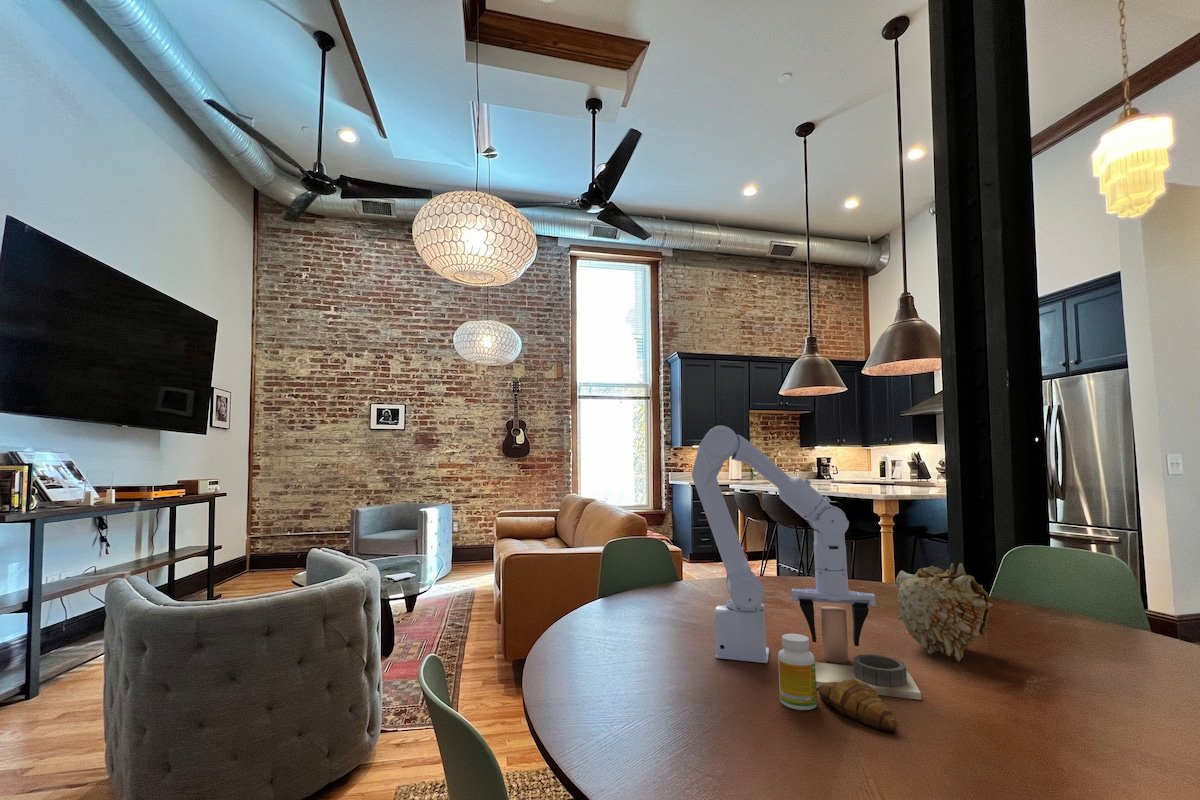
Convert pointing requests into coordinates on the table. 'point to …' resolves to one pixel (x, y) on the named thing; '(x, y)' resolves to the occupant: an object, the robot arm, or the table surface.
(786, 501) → the robot arm
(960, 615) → the seashell
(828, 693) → the croissant
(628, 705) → the table surface
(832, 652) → the peg
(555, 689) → the table surface
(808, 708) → the supplement bottle
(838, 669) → the holder board
